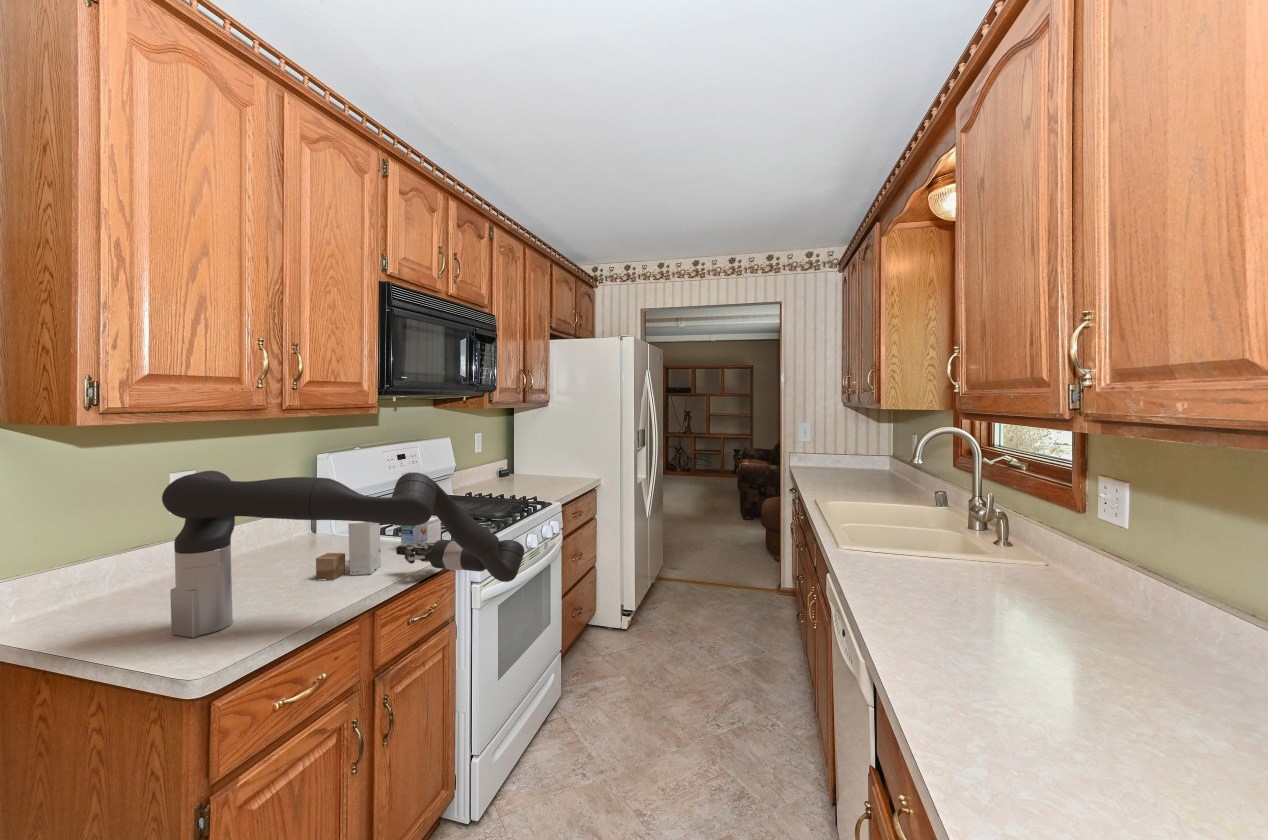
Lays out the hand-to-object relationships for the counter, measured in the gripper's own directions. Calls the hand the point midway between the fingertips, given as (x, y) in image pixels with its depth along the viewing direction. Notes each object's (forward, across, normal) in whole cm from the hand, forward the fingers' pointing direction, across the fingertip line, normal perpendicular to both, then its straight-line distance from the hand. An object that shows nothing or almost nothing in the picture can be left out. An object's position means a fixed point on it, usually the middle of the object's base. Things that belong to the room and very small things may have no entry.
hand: (397, 549), depth 146 cm
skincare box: (+11, 0, +7) cm, 13 cm away
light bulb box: (+9, -22, +7) cm, 25 cm away
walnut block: (+16, +7, +7) cm, 19 cm away
